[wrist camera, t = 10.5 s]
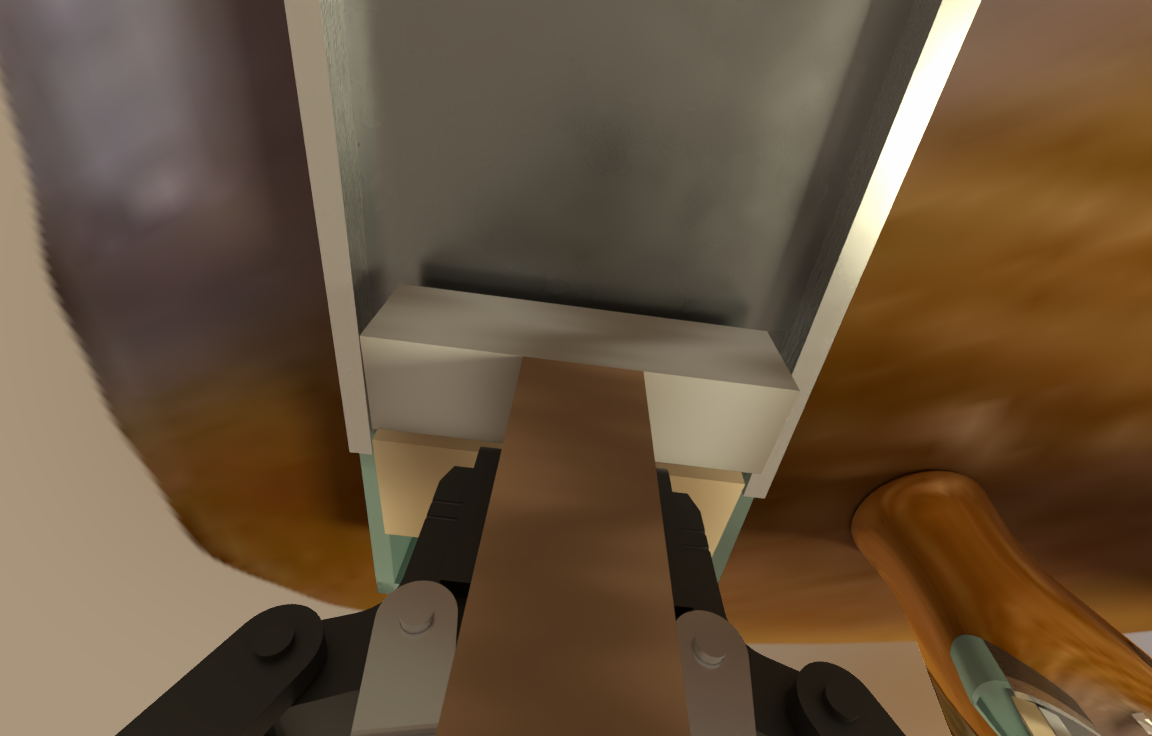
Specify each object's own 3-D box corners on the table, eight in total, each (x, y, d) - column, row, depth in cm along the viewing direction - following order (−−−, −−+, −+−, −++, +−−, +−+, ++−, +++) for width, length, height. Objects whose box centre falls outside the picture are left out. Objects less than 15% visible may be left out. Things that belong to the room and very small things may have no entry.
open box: (886, 9, 14) (985, -12, 11) (736, 427, 22) (764, 498, 18) (352, -70, 14) (266, -120, 10) (391, 387, 21) (349, 452, 18)
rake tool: (766, 331, 15) (1090, 914, 5) (736, 408, 17) (937, 960, 7) (400, 283, 15) (-19, 820, 5) (406, 367, 16) (109, 892, 6)
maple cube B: (535, 373, 17) (519, 457, 14) (526, 458, 19) (512, 547, 16) (416, 359, 17) (372, 439, 13) (422, 446, 19) (385, 533, 16)
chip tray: (736, 427, 22) (759, 484, 19) (688, 562, 26) (700, 625, 23) (391, 387, 21) (357, 439, 18) (402, 532, 26) (378, 592, 23)
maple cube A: (717, 396, 17) (745, 484, 14) (688, 477, 19) (706, 569, 16) (601, 382, 17) (602, 467, 14) (585, 465, 19) (583, 555, 16)
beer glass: (839, 572, 26) (1072, 1048, 14) (841, 475, 23) (1154, 988, 10) (982, 553, 25) (1383, 1050, 13) (1006, 449, 22) (1591, 985, 9)
